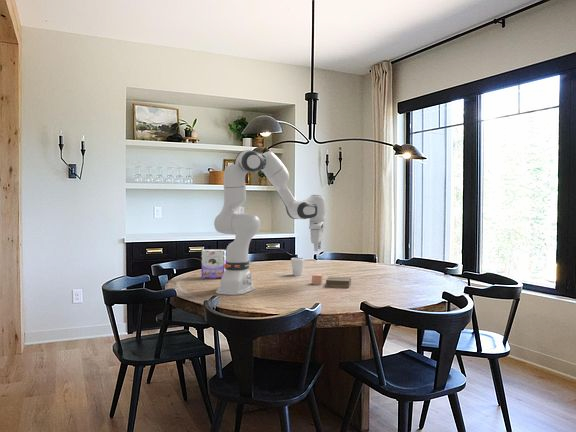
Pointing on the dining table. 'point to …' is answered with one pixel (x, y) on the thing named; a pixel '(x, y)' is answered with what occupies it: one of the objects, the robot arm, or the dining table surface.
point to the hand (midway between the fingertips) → (317, 250)
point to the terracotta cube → (317, 279)
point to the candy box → (213, 263)
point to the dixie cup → (297, 266)
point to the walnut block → (338, 282)
